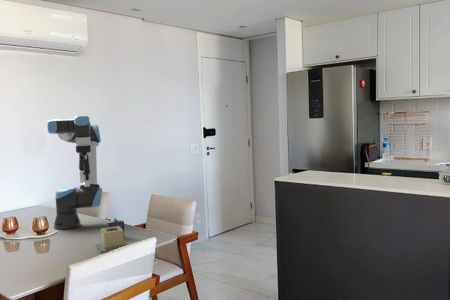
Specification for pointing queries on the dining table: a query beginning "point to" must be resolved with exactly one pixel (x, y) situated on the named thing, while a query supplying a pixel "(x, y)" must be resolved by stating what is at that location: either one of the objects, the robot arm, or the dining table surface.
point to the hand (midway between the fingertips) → (84, 184)
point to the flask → (116, 224)
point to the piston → (106, 249)
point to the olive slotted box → (112, 237)
